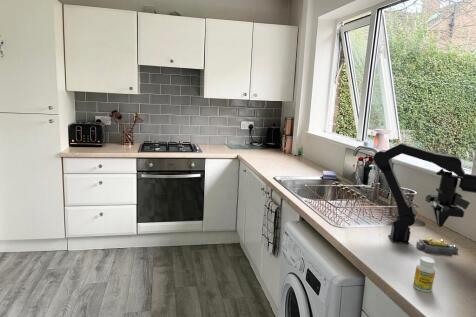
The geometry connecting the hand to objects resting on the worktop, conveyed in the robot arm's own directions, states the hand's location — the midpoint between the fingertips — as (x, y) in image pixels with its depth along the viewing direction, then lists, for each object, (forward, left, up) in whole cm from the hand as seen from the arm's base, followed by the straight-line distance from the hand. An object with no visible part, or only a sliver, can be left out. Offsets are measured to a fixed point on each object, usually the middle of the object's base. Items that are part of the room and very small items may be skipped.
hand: (439, 226), depth 142 cm
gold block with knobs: (0, 0, -10) cm, 10 cm away
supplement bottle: (-18, -32, -10) cm, 38 cm away
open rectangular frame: (0, 0, -10) cm, 10 cm away
